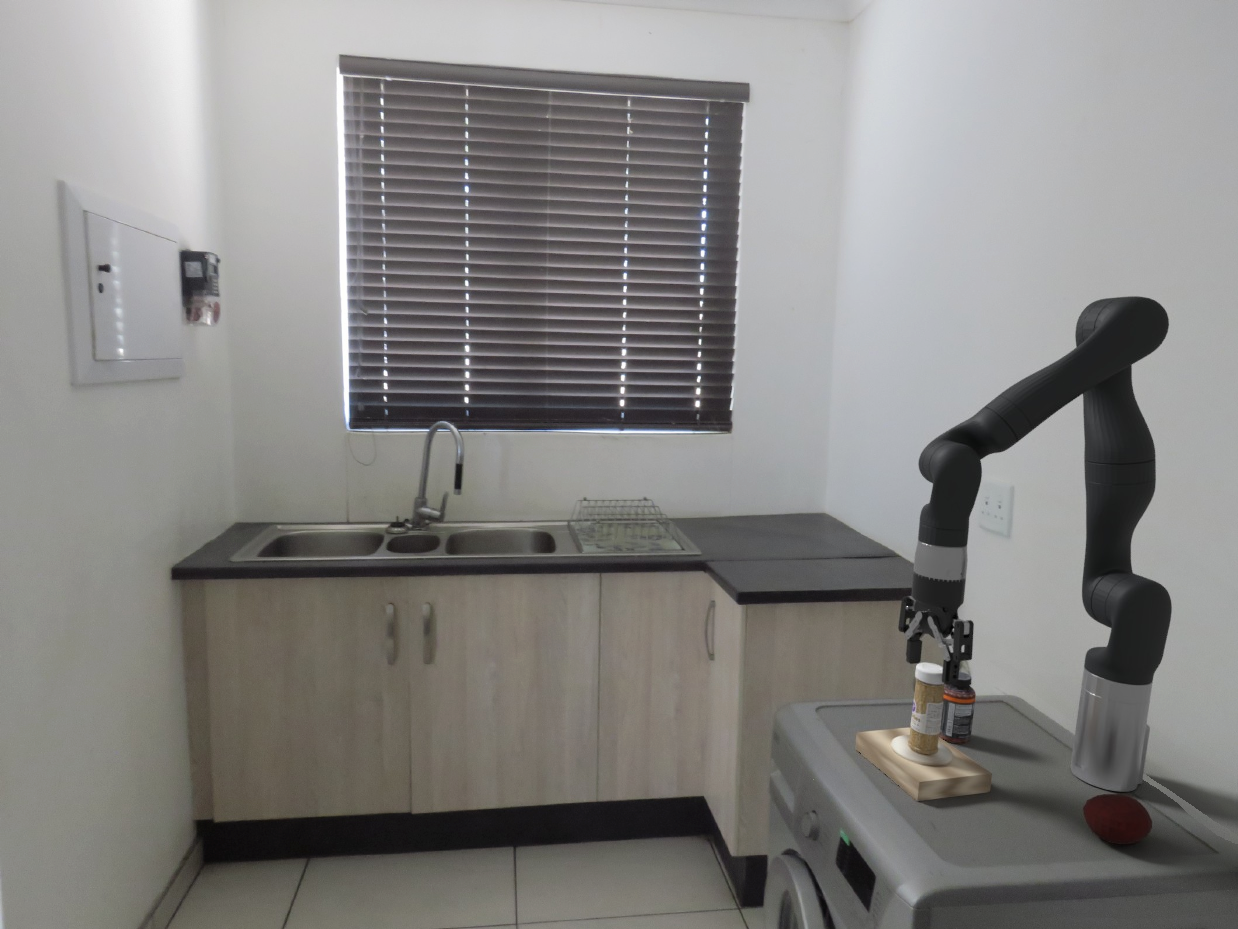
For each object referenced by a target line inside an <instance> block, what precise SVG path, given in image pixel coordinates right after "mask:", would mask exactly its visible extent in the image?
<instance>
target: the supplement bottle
mask: <svg viewBox="0 0 1238 929" xmlns="http://www.w3.org/2000/svg"><path fill="white" fill-rule="evenodd" d="M971 685H972V676H971V675H970V674H969V673H966V672H963V671H960V670H959V678H958V681H957V682H956V683H955V684H949V685H946V684H945V687H944V696H943V709H942V718H941V727H940V733H939V737H940V738H941V739H944V741H945V740H947V741H946V742H950V743H952V742H953V744H966V743H968V742H970V741H971V737H972V732H973V730H972V729H973V728H972V727H973V720H974V715H975V714H974V712H975V704H976V697H977V696H976V690H975V689H974V688H973V687H972V686H971Z"/></svg>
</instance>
